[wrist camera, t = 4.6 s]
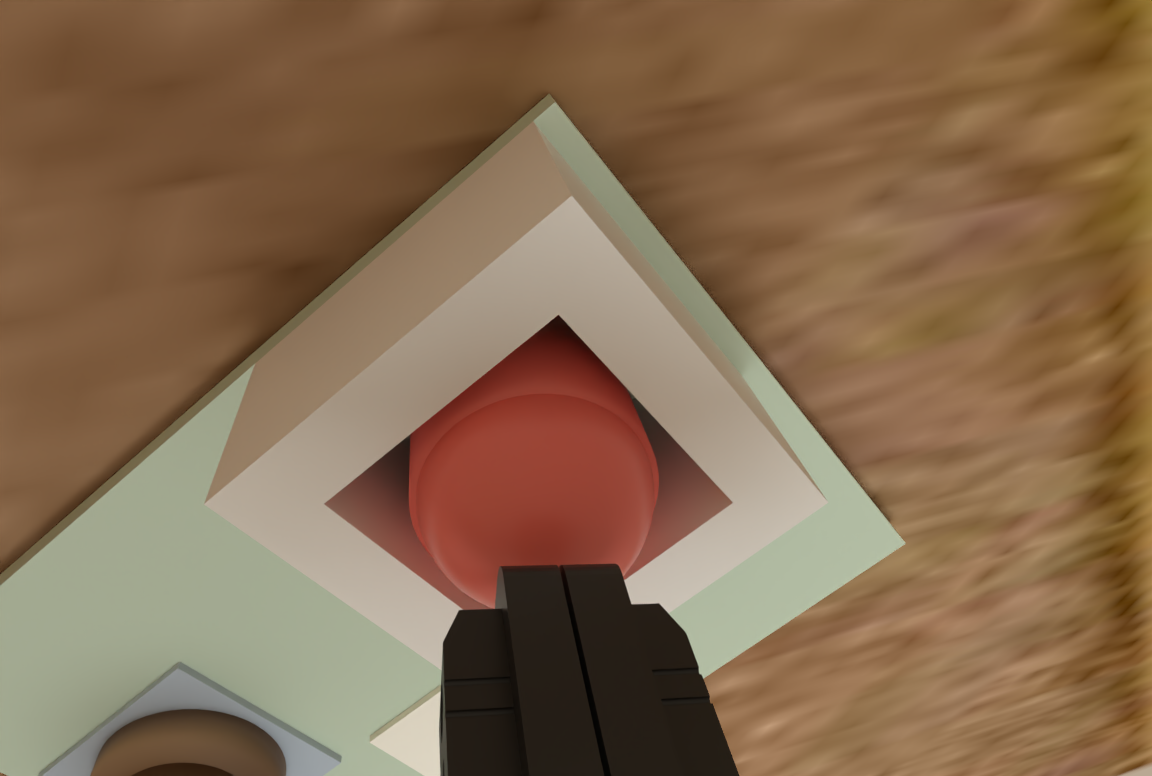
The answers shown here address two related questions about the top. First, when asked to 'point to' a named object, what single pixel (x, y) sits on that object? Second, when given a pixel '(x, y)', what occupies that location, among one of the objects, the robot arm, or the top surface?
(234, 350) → the top surface
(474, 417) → the popper button
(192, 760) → the pawn
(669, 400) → the popper housing
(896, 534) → the game board
